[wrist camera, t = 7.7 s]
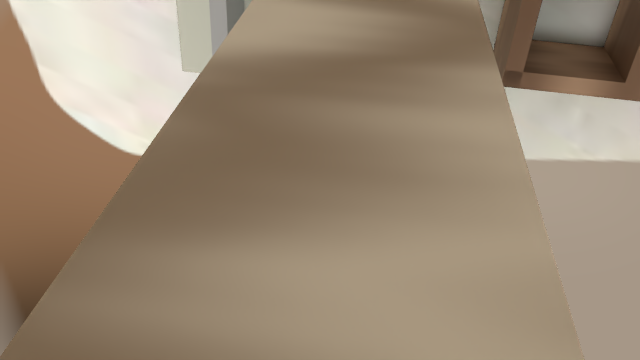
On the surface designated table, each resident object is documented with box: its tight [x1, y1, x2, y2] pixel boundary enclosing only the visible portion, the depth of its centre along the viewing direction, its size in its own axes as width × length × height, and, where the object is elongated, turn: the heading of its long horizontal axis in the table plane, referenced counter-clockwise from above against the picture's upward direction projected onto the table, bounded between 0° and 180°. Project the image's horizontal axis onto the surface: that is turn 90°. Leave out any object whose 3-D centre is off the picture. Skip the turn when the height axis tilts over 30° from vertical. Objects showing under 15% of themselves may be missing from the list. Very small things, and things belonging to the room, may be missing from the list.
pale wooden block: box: [0, 0, 584, 360], centre depth 12 cm, size 4×12×12 cm, turn 178°
